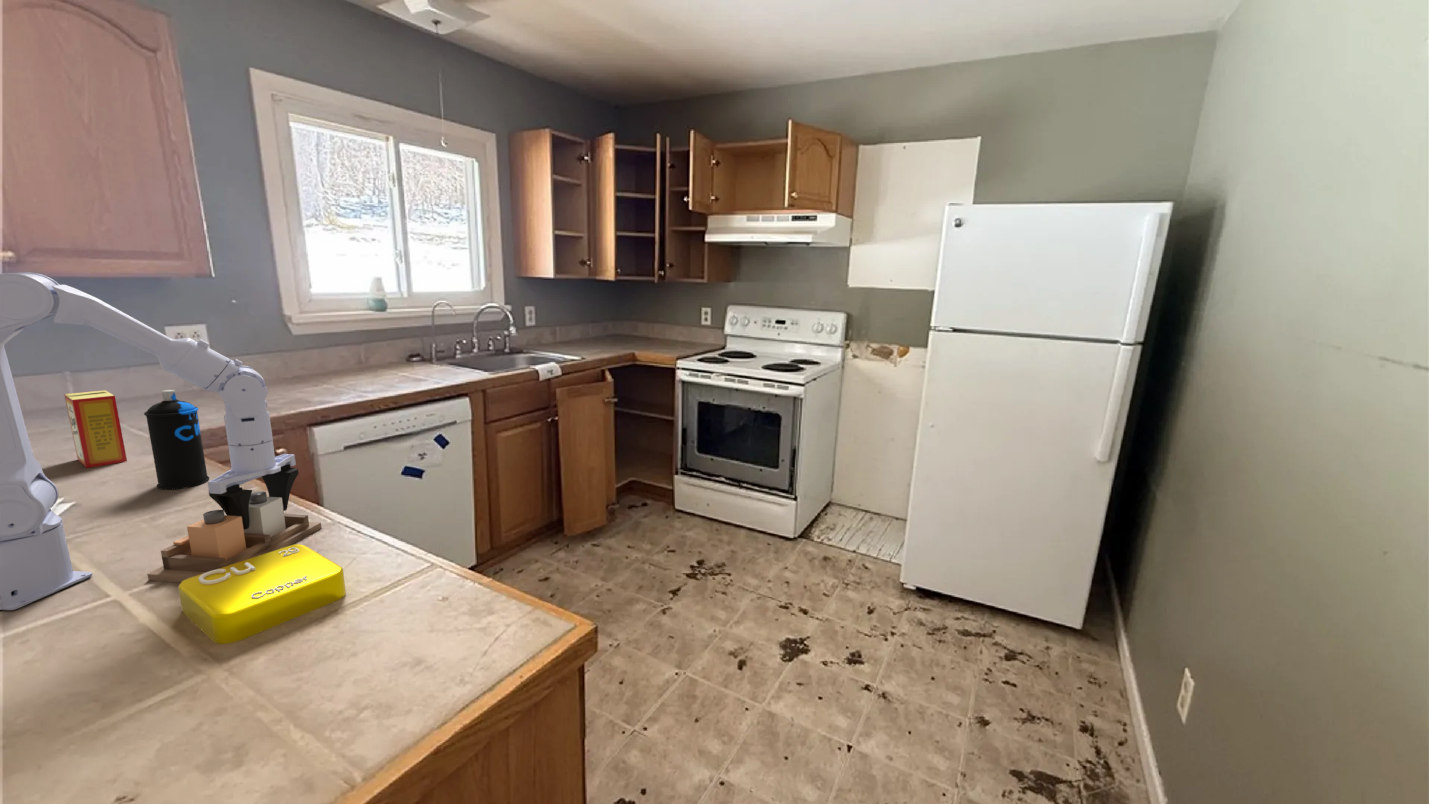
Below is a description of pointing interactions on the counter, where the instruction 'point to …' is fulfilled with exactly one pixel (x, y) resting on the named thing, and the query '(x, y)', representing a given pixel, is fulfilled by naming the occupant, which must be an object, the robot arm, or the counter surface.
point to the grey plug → (265, 514)
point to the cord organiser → (186, 566)
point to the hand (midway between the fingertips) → (261, 519)
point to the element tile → (260, 592)
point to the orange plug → (217, 535)
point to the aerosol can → (176, 443)
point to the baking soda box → (95, 428)
